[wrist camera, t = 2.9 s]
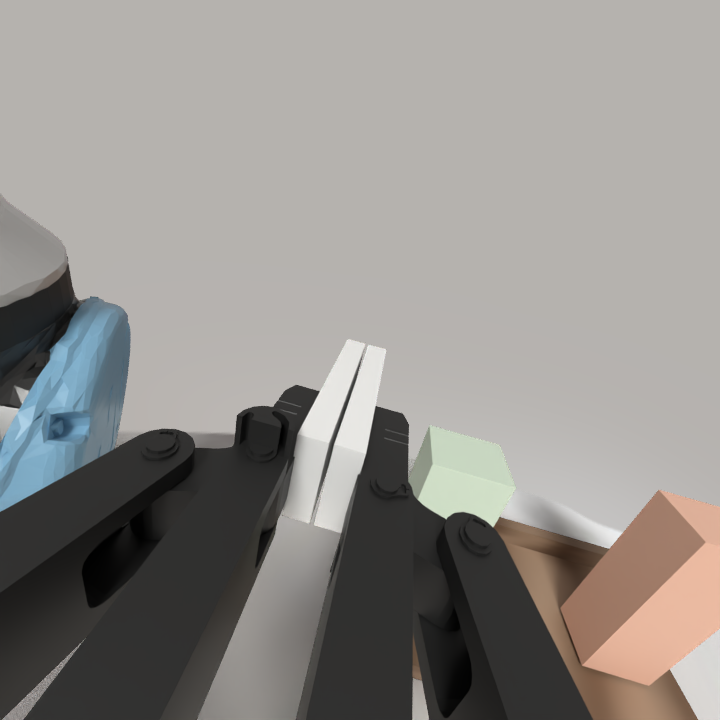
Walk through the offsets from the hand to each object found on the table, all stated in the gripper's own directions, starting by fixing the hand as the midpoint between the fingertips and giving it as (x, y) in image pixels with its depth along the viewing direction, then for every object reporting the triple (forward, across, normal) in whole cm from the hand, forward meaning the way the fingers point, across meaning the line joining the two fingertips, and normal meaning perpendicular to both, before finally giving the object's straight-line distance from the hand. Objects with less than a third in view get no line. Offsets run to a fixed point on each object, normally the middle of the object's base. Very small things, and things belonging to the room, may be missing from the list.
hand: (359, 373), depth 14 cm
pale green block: (+6, +8, -20) cm, 22 cm away
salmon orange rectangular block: (+6, +24, -20) cm, 32 cm away
